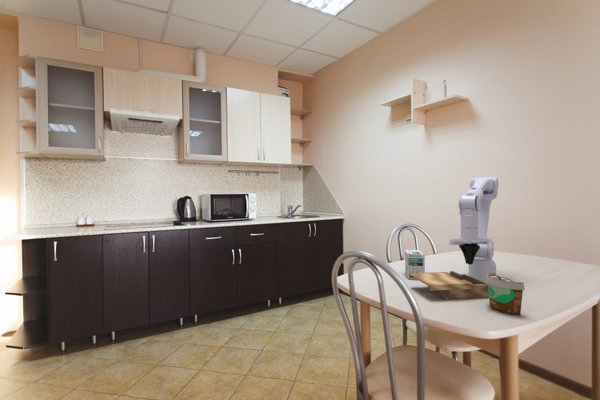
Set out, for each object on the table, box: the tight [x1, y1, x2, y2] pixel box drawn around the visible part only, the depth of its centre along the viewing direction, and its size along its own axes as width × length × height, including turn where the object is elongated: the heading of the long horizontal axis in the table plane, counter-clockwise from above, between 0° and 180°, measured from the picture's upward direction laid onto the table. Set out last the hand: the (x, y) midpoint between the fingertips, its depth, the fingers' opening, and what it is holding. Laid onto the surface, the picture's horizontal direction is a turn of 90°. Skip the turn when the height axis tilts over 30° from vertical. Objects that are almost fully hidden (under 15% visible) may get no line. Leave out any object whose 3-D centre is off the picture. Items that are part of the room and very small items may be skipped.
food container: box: [485, 271, 526, 316], centre depth 95 cm, size 12×6×10 cm, turn 5°
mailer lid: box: [409, 270, 473, 292], centre depth 111 cm, size 15×15×3 cm
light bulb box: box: [404, 249, 426, 281], centre depth 133 cm, size 11×7×11 cm, turn 168°
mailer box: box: [427, 273, 489, 301], centre depth 112 cm, size 15×14×4 cm
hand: (469, 263), depth 115 cm, fingers closed
